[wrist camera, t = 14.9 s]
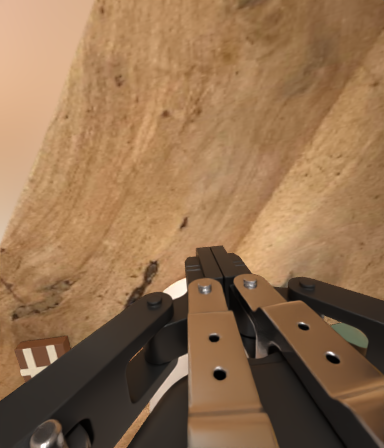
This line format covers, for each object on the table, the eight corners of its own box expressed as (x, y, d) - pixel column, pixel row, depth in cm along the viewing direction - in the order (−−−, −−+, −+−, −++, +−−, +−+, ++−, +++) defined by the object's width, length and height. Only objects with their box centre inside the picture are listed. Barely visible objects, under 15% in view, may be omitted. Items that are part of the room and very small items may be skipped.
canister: (313, 325, 29) (366, 383, 21) (367, 317, 30) (437, 371, 22) (310, 370, 31) (357, 439, 23) (360, 362, 32) (422, 426, 24)
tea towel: (20, 341, 25) (13, 350, 24) (67, 335, 26) (62, 344, 24) (46, 420, 28) (41, 432, 27) (87, 414, 29) (84, 425, 27)
